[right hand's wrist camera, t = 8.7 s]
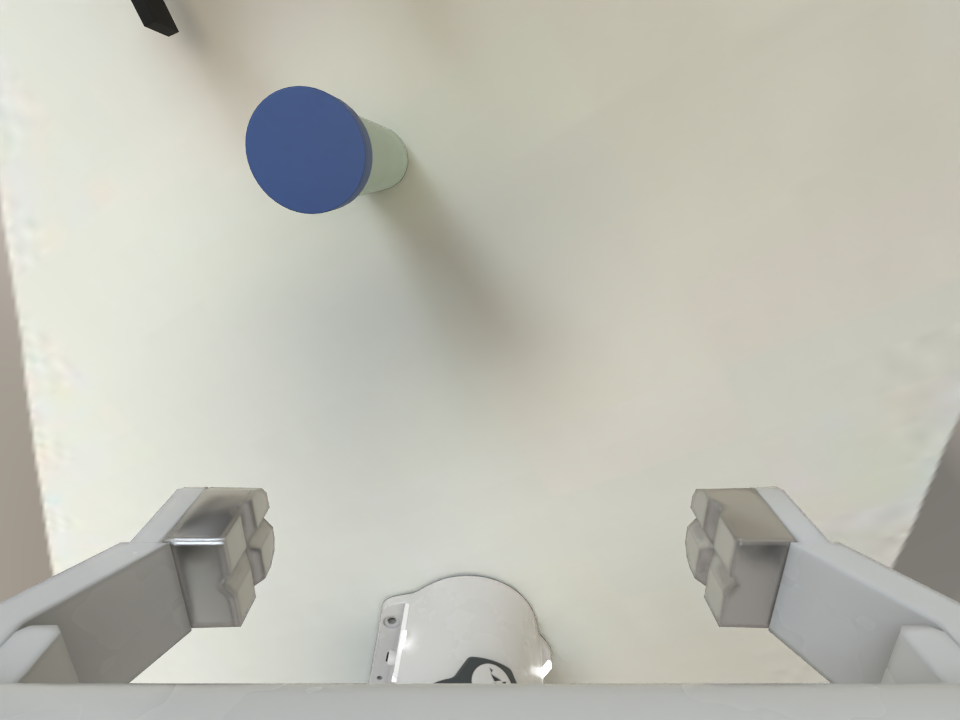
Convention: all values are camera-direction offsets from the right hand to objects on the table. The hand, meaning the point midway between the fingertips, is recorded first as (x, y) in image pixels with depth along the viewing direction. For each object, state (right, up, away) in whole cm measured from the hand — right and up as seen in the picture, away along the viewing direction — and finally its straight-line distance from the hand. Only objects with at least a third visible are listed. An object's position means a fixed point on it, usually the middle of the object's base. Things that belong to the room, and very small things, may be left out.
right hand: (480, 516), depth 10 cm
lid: (-8, +12, +14) cm, 20 cm away
